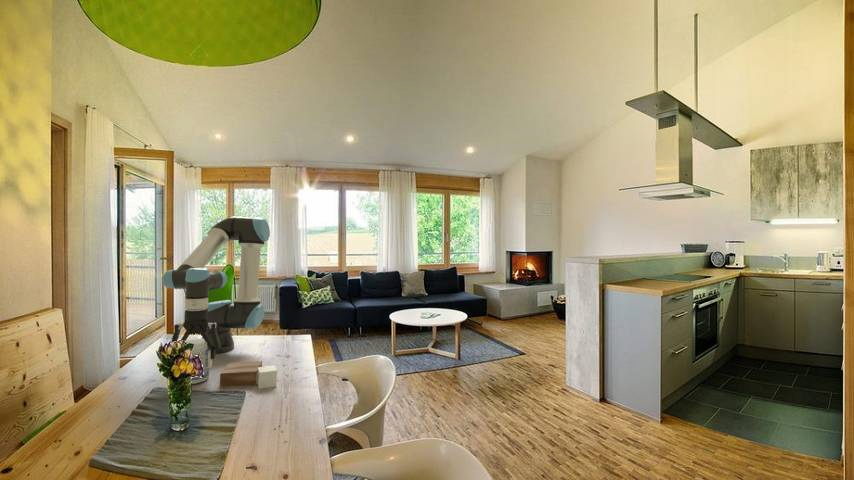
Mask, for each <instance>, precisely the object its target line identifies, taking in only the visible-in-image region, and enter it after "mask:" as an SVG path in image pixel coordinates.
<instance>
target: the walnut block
mask: <svg viewBox="0 0 854 480" xmlns="http://www.w3.org/2000/svg"><path fill="white" fill-rule="evenodd" d="M258 367H263V361H239V362H235V361H234V362H228V364H227V365H226V366H225V367H224V368H223V369H222V371H221V372H220V374H219V388H229V387H246V386H247V387H248V386H256V385H257V384H258V383H257V382H258Z"/></svg>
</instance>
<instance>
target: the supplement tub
mask: <svg viewBox="0 0 854 480" xmlns="http://www.w3.org/2000/svg"><path fill="white" fill-rule="evenodd" d="M186 342H187V343H193V344H194V347H193V350H192V354H193V355H198V353H199V351H200V350H201V354H200V359H201V361H202V364H203V368H204V377H203V378H199V377H194V378H192V379H191V381H192V384H191V385H195V384H201V383H203V382H205V381H206V380H208V379H209V378H210V369H207V366H208V351H209V350H210V349H209V347H208V345H207V342H205V340H204V339H202V338H194V339H193V338H192V339H188V340H186Z"/></svg>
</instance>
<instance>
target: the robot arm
mask: <svg viewBox="0 0 854 480" xmlns="http://www.w3.org/2000/svg"><path fill="white" fill-rule="evenodd" d="M270 231H271V230H270V226H269V223H268V221H267V220H266V219H265V218H263V217H259V216H258V217H256V216H231V217H227V218H224V219H222V220H221V221H219V222H217V223H215V224H214V225H213V226H212V227H211V228H210V229H209V230H208V231H207V236H206V237H205V238H204V239H203V240H202V241H201V242H200V244H198V245H197V247H196V248H195V249H194V250H193V251H192V252H191V253H190V254H189V255H188V256H187V258H186V259H185V260H184V261H183V262H182V263H181V264H180V266H178V267H177V268H176V269H168V270H166V271H165V272H164V274H163V276H162V283H163V286H164V287H166V288H168V289H175V290H185V296H184V309H185V310H184V321H183V323H180V322H179V323H176V324H174V327H173V328H174V332H173V333H172V334H173V335H172V338H171V341H177V342H178V340H179V336H180V334H181V330H182V329H183V328H184V329H185V332H184V334H183V335H182V337H181V339H180V340H185V341H187V339H188V338H189V336H190V335H200V336H201V339H204V340H205V342H207V345H208V347H209V349H210V350H209V351H208V366H207V369H209V370H210V369H211V368H212V367H213V360H214V359H215V357H216V354H220V353H221V354H222V353H225V352H226V353H227V352H230V351H232V350H233V349H235V341H234V338H233V335H232V331H231V330H232V329H240V330H249V329H250V330H251V329H252V330H253V329H257V328H258V327H259V326H260V325H261V324H262V323H263V322H262V321H263V320H264V317H265V312H266V311H265V309H266V308H265V306H264V305H263V304H261V300H260V298H259V297H258V292H259V291H258V290H259V281H260V280H259V278H260V277H259V276H260V262H261V250H262V248H263V247H264V246H265V242H268V241H269V240H270V235H271V234H270V233H271V232H270ZM230 241H237V243H238V246H240V248H241V249H240V250H241V251H240V265H239V275H238V289H237V297H236V298H235V299H234V300H233V301H232V300H231V299H226V300H225V299H224V300H218V301H212V302H209V294H210V292H211V291H215V290H219V289H221V288H223V287H225V286H226V284H227V282H228V276H227V274H226V273H225V272H224V271H223V270H210V269H209V268H207V267H206V266H207V264H208V263H209V262H210V261H211V259H212V258H214V256H215V255H216V254H217V252H218V251H219V250H220V249H221V248H222V246H225V245H227V244H228V242H230ZM209 291H210V292H209Z"/></svg>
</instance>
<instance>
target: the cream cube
mask: <svg viewBox="0 0 854 480" xmlns="http://www.w3.org/2000/svg"><path fill="white" fill-rule="evenodd" d="M277 380H278V370H277V366H276V365H266V366H262V367H258V381H257V383H256V384H257V387H258V389H259V390H260V389H266V388H273V387H277V384H278V383H277Z"/></svg>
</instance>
